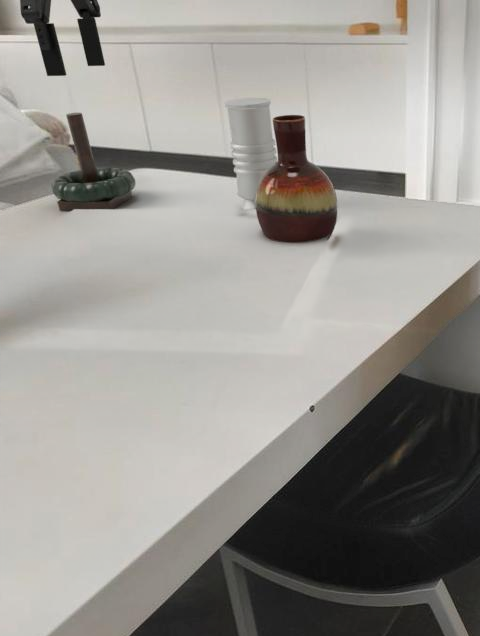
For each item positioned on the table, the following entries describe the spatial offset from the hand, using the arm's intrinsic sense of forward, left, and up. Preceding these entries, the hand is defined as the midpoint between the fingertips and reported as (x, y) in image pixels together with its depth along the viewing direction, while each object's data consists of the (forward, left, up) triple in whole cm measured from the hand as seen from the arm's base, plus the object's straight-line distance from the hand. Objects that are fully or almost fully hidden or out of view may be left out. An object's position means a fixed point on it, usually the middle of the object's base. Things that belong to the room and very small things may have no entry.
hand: (77, 70), depth 108 cm
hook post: (0, -5, -19) cm, 19 cm away
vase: (+39, -24, -19) cm, 50 cm away
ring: (0, -4, -16) cm, 17 cm away
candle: (+29, -7, -19) cm, 36 cm away
